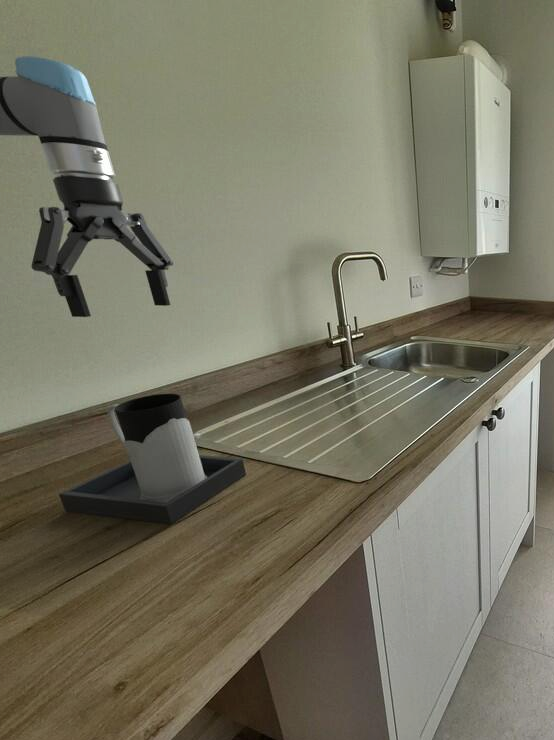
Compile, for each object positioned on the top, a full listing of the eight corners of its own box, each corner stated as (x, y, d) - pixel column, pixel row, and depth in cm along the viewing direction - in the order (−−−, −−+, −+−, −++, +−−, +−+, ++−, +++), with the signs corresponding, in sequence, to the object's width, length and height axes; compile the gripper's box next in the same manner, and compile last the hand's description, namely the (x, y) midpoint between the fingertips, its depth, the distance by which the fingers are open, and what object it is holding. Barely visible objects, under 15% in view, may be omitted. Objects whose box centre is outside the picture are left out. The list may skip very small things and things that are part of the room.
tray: (65, 511, 61) (58, 493, 60) (155, 465, 73) (150, 450, 72) (171, 524, 58) (165, 506, 57) (246, 474, 70) (242, 458, 69)
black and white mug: (166, 510, 60) (136, 416, 55) (101, 495, 64) (67, 405, 59) (222, 479, 68) (200, 395, 63) (161, 467, 72) (136, 386, 67)
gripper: (-1, 162, 54) (58, 323, 60) (177, 188, 77) (205, 301, 84) (-44, 164, 55) (18, 321, 62) (144, 189, 78) (173, 301, 85)
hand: (125, 310), depth 73 cm, fingers open, 13 cm apart
